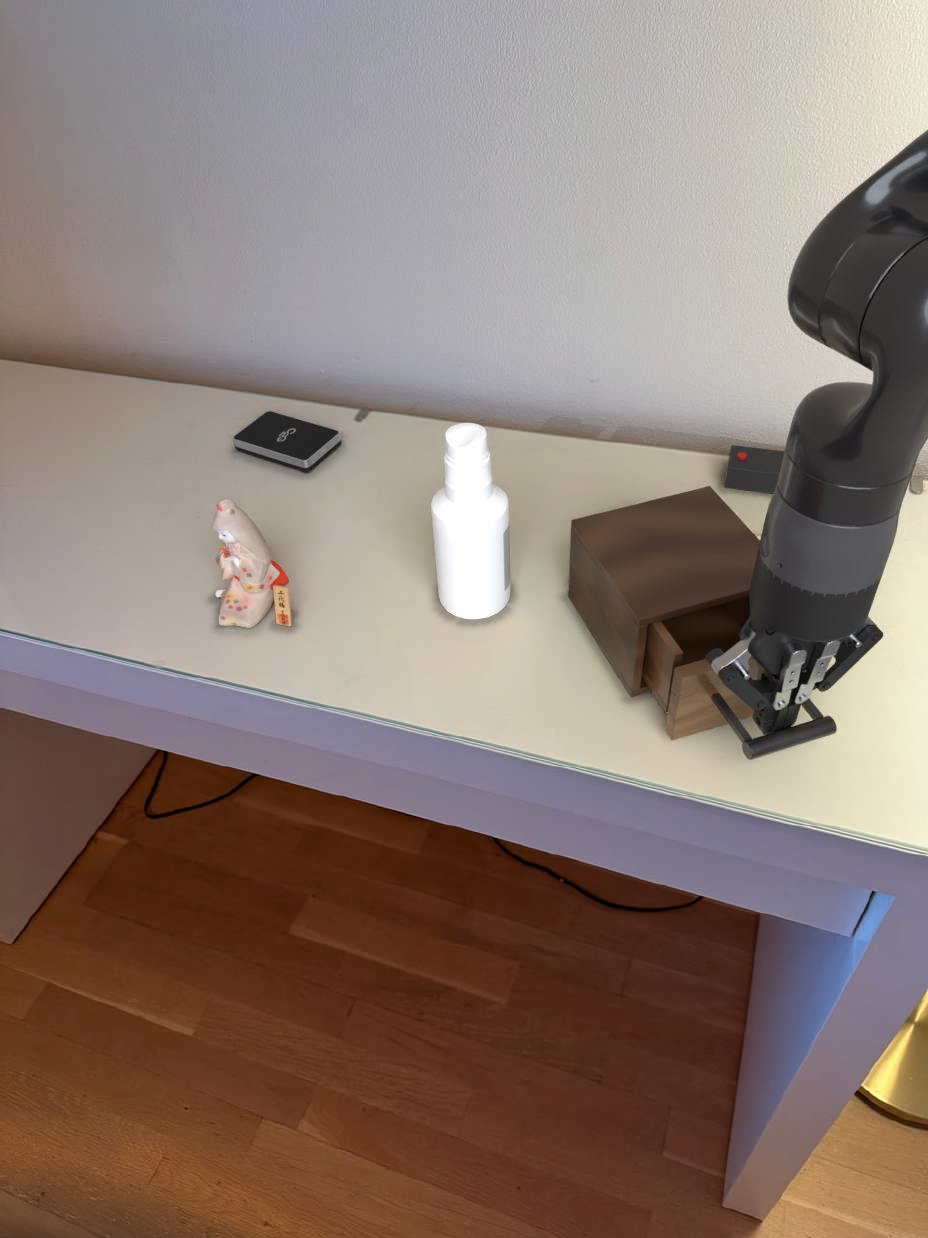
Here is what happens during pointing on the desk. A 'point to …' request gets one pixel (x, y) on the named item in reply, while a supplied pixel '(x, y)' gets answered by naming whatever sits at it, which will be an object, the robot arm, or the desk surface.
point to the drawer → (712, 680)
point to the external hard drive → (287, 441)
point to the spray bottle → (471, 529)
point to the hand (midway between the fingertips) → (771, 728)
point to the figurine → (248, 571)
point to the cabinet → (655, 570)
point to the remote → (753, 469)
